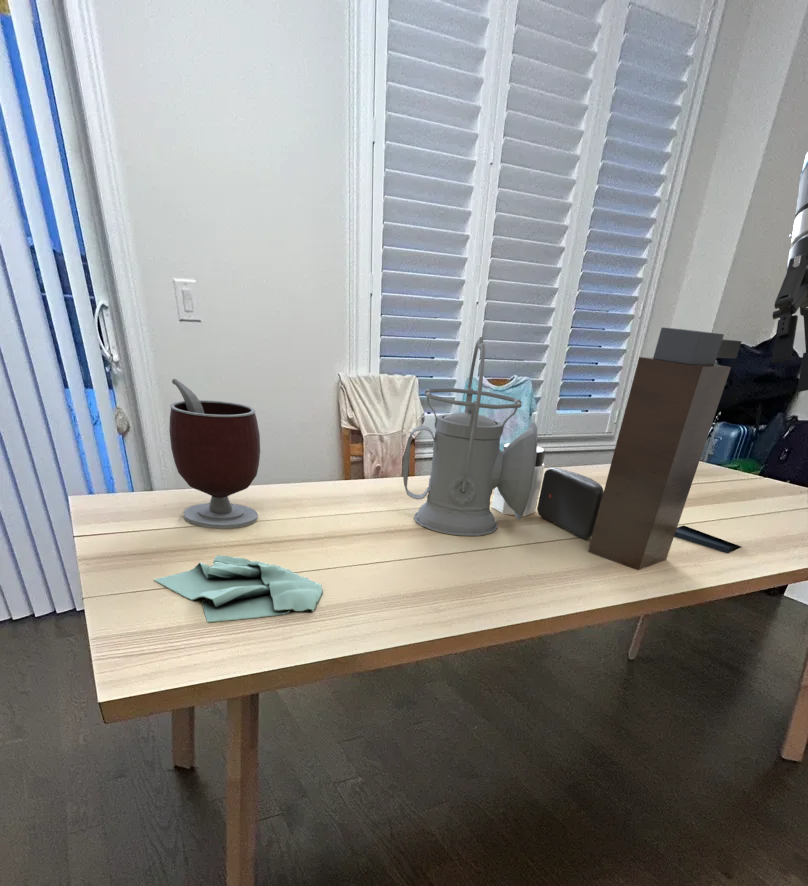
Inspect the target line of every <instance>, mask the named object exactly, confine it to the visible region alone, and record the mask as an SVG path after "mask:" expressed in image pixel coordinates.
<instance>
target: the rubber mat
mask: <svg viewBox="0 0 808 886" xmlns="http://www.w3.org/2000/svg"><path fill="white" fill-rule="evenodd" d="M674 538H677V539H681V540H683V541H686V542H689V543H693V544H696V545H699V546H703V547H705V548H709V549H711V550H714V551H717V552H721V553H724V554H727V555H728V554H730V553H733V552H734V551H736V550H739V549H742V546H741V545H738V544H736V543H733V542H730V541H727V540H725V539H722V538H719V537H717V536H714V535H711V534H709V533H706V532H704V531H700V530H697V529H695V528H692V527H689V526H688V525H687V526H686V525H684V524H683V525H680V526H677V529H676V532H675V535H674Z"/></svg>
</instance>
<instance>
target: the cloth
mask: <svg viewBox="0 0 808 886" xmlns="http://www.w3.org/2000/svg"><path fill="white" fill-rule="evenodd" d="M153 581H154V582H156V583H157V584H159V585H161V586H163V587H165V588H166V589H168V590H171V591H172V592H174V593H176V594H178V595H180V596H181V597H184V598H186V599H188V600H190V601H192V602H193V601H195V600H197V599H201V598H204V599H203V600H202V601H201V603H202V607H203V613H204V616H205V619H206V622H207V623H218V622H219V623H220V622H229V621H238V620H239V621H240V620H249V619H258V618H266V617H274V616H275V617H276V616H285V615H287V614H289V613H290V612H291V611H295V612H304V611H306V612H311V613H314V612H315V610H316V608H317V605H318V604H319V602H320V599H321V597H322V596H323V592H324V591H323V585H322V584H320V583H318V582H316V581H314V580H311V579H309V578H308V577H305V576H301V575H300V574H298V573H295V572H293V570H290V569H289V568H285V567H284V566H283V567H282V566H281V565H277V564H269V563H265V562H262V561H258V560H250V559H248V558H244V557H239V556H237V557H233V556H229V555H219V554H218V555H216V556H215V557H214V558H213V561H212V565H211V566H210V565H208V564H207V563H203V562H198V563H197V564H196V565H195V567H194V568H191V569H190V570H186V571H183V572H182V571H181V572H177V573H174V574H171V575H166V576H163V577H159V578H155V579H153Z"/></svg>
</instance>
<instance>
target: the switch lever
mask: <svg viewBox="0 0 808 886" xmlns="http://www.w3.org/2000/svg"><path fill="white" fill-rule="evenodd" d="M724 336H725V334H724V333H718V332H709V331H701V330H693V329H683V328H672V327H661V328H660V331H659V336H658V339H657V343H656V346H655V349H654V354H653V359H657V360H663V361H670V362H676V363H683V364H689V365H716V364H715V363H716V361H717V359H737V358H738V353H739V352H740V349H741V345H742V341H741V340H734V339H727V338H726V339H724Z"/></svg>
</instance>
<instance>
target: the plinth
mask: <svg viewBox="0 0 808 886" xmlns="http://www.w3.org/2000/svg"><path fill="white" fill-rule="evenodd" d="M653 357H654V356H653ZM653 357H652V356H651V357H650V356H639V357H638V360H637V363H636V366H635V367H636V368H635V371H634V376H633V379H632V383H631V386H630V390H629V393H628V394H629V395H628V398H627V401H626V404H625V410H624V413H623V418H622V421H621V424H620V428H619V431H618V435H617V440H616V443H615V447H614V451H613V455H612V459H611V462H610V466H609V470H608V474H607V477H606V482H605V486H604V488H603V490H604V493H603V496H602V500H601V504H600V508H599V512H598V515H597V519H596V523H595V527H594V531H593V535H592V537H591V538H590V542H589V546H588V549H587V553H590V554H593V555H596V556H598V555H599V557H602V558H604V559H606V560H610V561H612V562H615V563H617V564H620V565H623V566H626V567H629V568H631V569H634V570H637V571H640V570H643V569H646V568H648V567H652V566H653V565H655V564H658V563H661V562H664V561H666V560H668V559H667V558H668V557H669V553H670V550H671V547H672V543H673V542H674V538H675V537H674V535H675V532H676V529H677V527H679V523H680V520H681V518H682V517H681V516H682V514H683V511H684V508H685V505H686V502H687V499H688V496H689V493H690V491H691V487H692V485H693V481H694V479H695V477H696V472H697V470H698V467H699V463H700V461H701V458H702V455H703V452H704V449H705V446H706V443H707V440H708V437H709V434H710V431H711V428H712V425H713V422H714V419H715V416H716V413H717V410H718V408H719V404H720V401H721V398H722V395H723V393H724V390H725V387H726V384H727V380H728V378H729V374H730V372H731V369H732V367H731V366H727V365H720V364H714V365H689V364H683V363H676V362H670V361H663V360H657V359H653Z"/></svg>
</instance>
